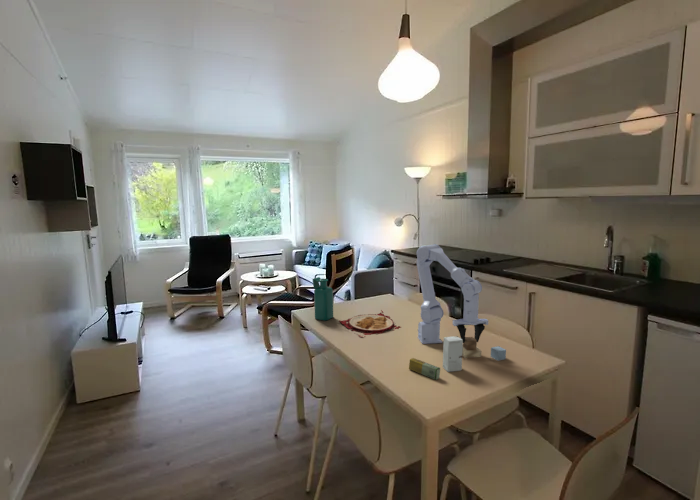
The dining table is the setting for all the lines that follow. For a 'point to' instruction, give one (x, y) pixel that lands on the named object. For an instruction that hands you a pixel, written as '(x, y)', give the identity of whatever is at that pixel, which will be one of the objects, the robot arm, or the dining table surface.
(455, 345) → the skincare box
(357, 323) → the plate with food
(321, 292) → the green tall canister
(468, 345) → the walnut block
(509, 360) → the dining table surface
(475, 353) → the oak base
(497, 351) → the slate block
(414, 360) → the medication box
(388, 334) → the dining table surface
